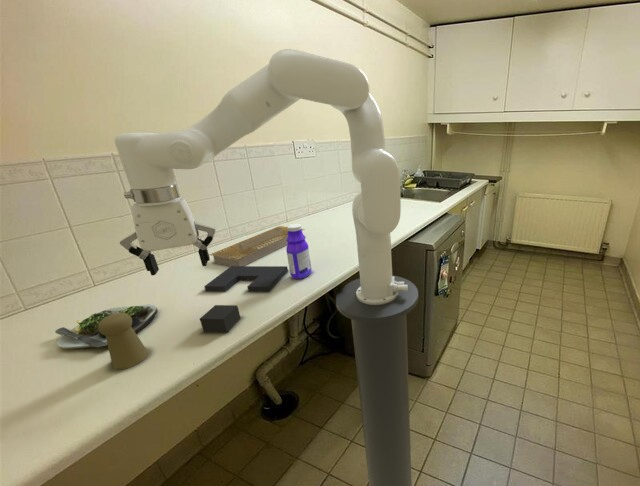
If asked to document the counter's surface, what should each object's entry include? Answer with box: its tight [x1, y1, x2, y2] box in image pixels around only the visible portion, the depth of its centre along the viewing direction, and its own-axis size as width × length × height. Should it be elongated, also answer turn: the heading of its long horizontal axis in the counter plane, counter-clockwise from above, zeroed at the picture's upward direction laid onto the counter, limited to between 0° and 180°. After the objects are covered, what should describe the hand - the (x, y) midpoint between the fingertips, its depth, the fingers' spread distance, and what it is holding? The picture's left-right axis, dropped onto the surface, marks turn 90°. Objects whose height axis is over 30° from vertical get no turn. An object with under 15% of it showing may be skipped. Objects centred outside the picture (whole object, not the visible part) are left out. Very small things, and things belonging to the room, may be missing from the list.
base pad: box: [204, 265, 289, 293], centre depth 101 cm, size 20×14×2 cm
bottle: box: [285, 223, 312, 280], centre depth 101 cm, size 7×6×17 cm
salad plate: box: [55, 304, 159, 349], centre depth 77 cm, size 19×18×5 cm
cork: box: [98, 313, 149, 370], centre depth 66 cm, size 6×6×11 cm
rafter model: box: [208, 225, 305, 267], centre depth 126 cm, size 35×14×6 cm, turn 158°
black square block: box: [199, 304, 241, 334], centre depth 78 cm, size 6×6×4 cm
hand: (181, 268), depth 71 cm, fingers open, 9 cm apart
